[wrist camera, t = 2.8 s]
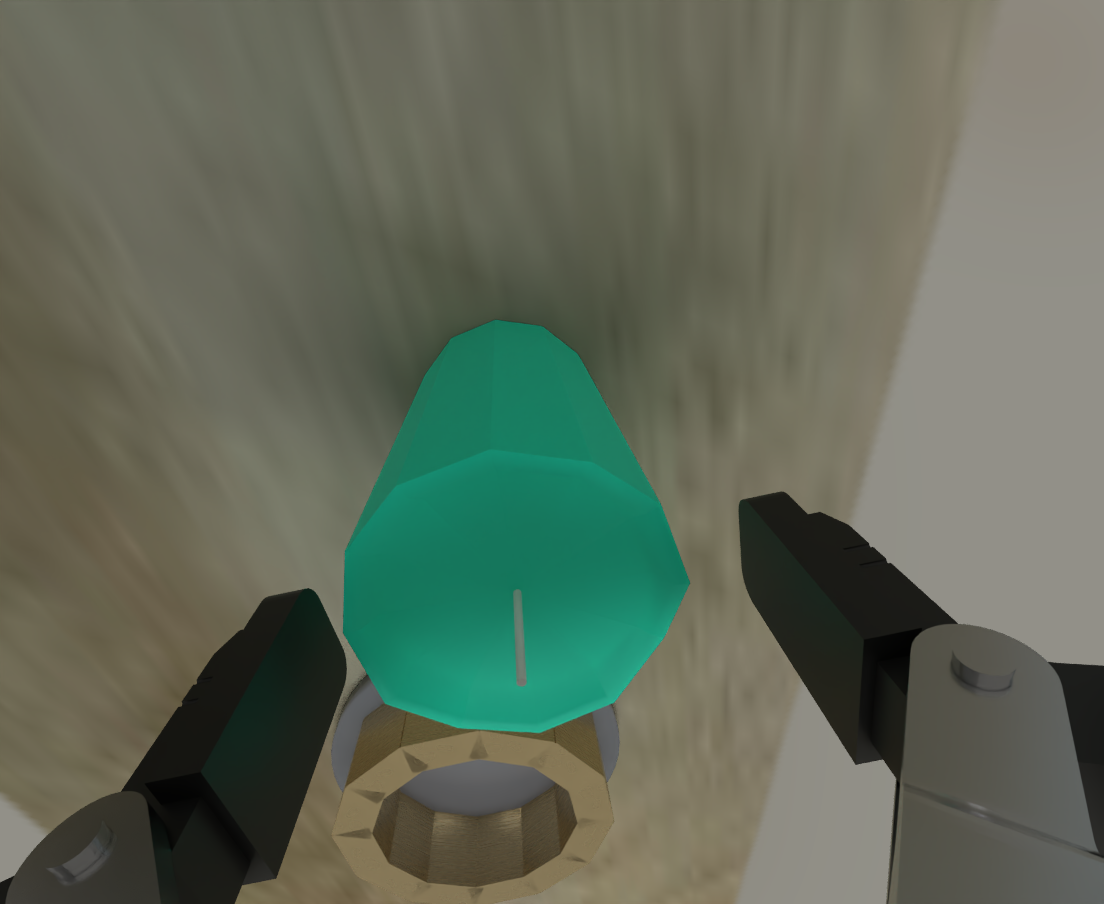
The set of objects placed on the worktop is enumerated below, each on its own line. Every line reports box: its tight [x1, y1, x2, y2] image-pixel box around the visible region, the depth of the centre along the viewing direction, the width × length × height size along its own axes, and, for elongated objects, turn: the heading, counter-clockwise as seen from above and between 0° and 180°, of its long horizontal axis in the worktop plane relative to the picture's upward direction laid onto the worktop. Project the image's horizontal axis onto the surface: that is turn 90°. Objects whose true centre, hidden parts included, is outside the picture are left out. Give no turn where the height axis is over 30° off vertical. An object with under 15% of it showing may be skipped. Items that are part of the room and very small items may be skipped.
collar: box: [332, 703, 614, 904], centre depth 23 cm, size 11×11×3 cm
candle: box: [343, 320, 690, 733], centre depth 13 cm, size 6×6×12 cm
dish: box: [331, 675, 620, 816], centre depth 25 cm, size 13×13×1 cm
